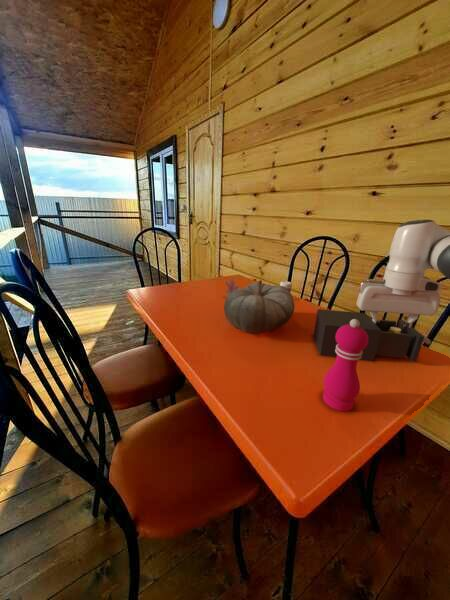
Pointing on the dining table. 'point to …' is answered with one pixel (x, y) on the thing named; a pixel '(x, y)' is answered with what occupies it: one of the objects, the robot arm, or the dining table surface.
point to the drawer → (400, 341)
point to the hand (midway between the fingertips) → (390, 325)
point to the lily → (231, 286)
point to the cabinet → (334, 320)
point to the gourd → (259, 308)
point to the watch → (394, 329)
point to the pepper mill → (345, 367)
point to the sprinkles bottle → (286, 285)
